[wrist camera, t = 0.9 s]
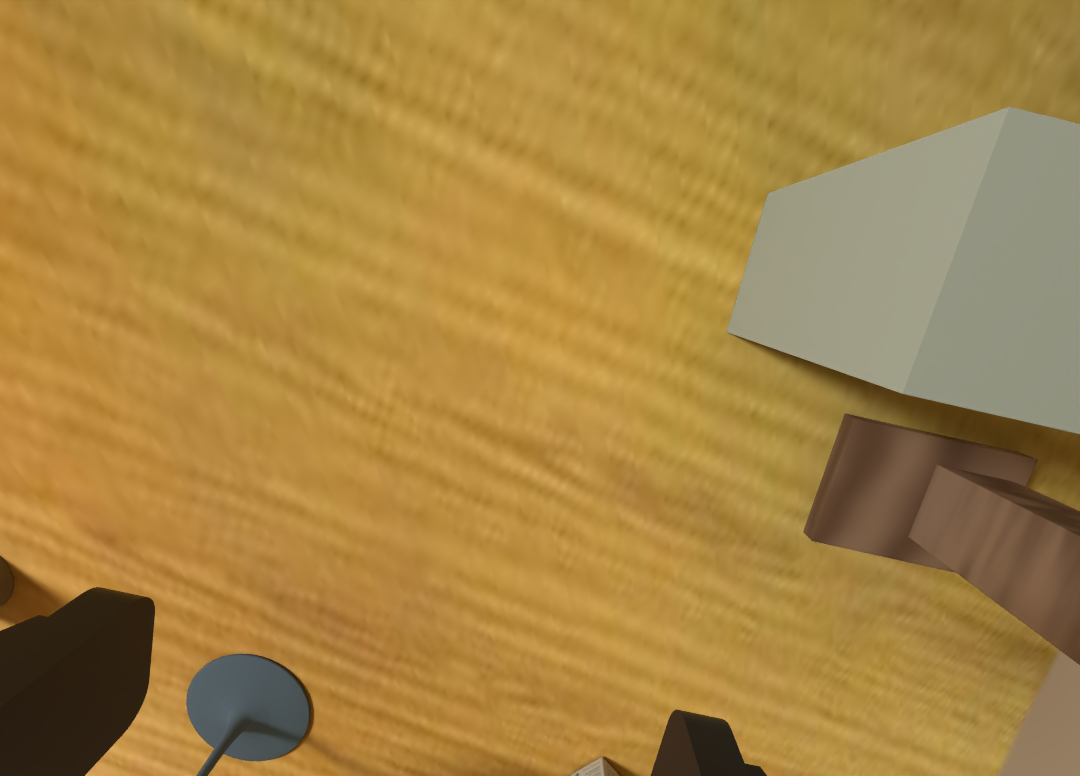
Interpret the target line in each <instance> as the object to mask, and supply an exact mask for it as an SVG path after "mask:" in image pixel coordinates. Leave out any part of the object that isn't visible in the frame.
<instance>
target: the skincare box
mask: <svg viewBox="0 0 1080 776" xmlns="http://www.w3.org/2000/svg"><path fill="white" fill-rule="evenodd" d="M570 776H620V775H619V774H618V773H617V772H616V771H615V770H614V769H613V768H612V767H611V766H610V765H609V763H608V762H607V761H606V760H605V759H604V758H603V757H601V758H599V759H598V760H596V761H594V762H592V763H590V764H589V765H587V766H585V767H583V768H582V769H580V770H578V771H577V772H575V773H574V774H572V775H570Z"/></svg>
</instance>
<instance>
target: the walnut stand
mask: <svg viewBox="0 0 1080 776" xmlns="http://www.w3.org/2000/svg"><path fill="white" fill-rule="evenodd" d="M1036 462H1037V459H1034V458H1032V457H1029V456H1027V455H1024V454H1021V453H1017V452H1013V451H1009V450H1004V449H1000V448H995V447H991V446H986V445H982V444H978V443H973V442H969V441H964V440H960V439H956V438H951V437H947V436H942V435H938V434H933V433H929V432H925V431H920V430H916V429H911V428H907V427H902V426H898V425H894V424H889V423H885V422H880V421H876V420H871V419H867V418H863V417H858V416H854V415H849V414H845V415H844V418H843V421H842V424H841V427H840V429H839V432H838V435H837V438H836V441H835V444H834V446H833V449H832V452H831V455H830V458H829V461H828V463H827V466H826V469H825V472H824V475H823V478H822V481H821V483H820V486H819V489H818V492H817V495H816V498H815V500H814V503H813V506H812V509H811V512H810V515H809V517H808V520H807V523H806V526H805V529H804V533H805V534H806V535H807V536H808V537H809V538H810V539H811V540H812V541H815V542H819V543H824V544H828V545H833V546H838V547H842V548H847V549H851V550H856V551H860V552H865V553H869V554H874V555H878V556H883V557H888V558H892V559H897V560H901V561H906V562H910V563H915V564H919V565H924V566H929V567H933V568H938V569H942V570H947V571H951V572H956V573H957V574H959V575H960V576H961V577H963V578H964V579H965V580H967V581H968V582H969V583H971V584H972V585H973V586H975V587H976V588H977V589H979V590H980V591H981V592H983V593H984V594H986V595H987V596H988V597H990V598H991V599H992V600H994V601H995V602H996V603H998V604H999V605H1000V606H1002V607H1003V608H1004V609H1006V610H1007V611H1008V612H1010V613H1011V614H1012V615H1014V616H1015V617H1016V618H1018V619H1019V620H1020V621H1022V622H1023V623H1024V624H1026V625H1027V626H1028V627H1030V628H1031V629H1032V630H1034V631H1035V632H1036V633H1038V634H1039V635H1040V636H1042V637H1043V638H1044V639H1046V640H1047V641H1048V642H1050V643H1051V644H1052V645H1054V646H1055V647H1056V648H1058V649H1059V650H1060V651H1062V652H1063V653H1065V654H1066V655H1067V656H1069V657H1070V658H1071V659H1073V660H1074V661H1075V662H1077V663H1078V664H1079V665H1080V512H1079V511H1077V510H1075V509H1073V508H1070V507H1068V506H1066V505H1064V504H1062V503H1059V502H1057V501H1055V500H1053V499H1051V498H1049V497H1046V496H1044V495H1042V494H1040V493H1038V492H1035V491H1033V490H1031V489H1029V488H1027V487H1026V485H1027V483H1028V481H1029V478H1030V476H1031V474H1032V472H1033V469H1034V467H1035V465H1036Z"/></svg>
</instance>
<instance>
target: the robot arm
mask: <svg viewBox="0 0 1080 776" xmlns="http://www.w3.org/2000/svg"><path fill="white" fill-rule="evenodd" d="M154 617H155V606H154V602H153V601H152V599H150V598H148V597H144V596H139V595H134V594H129V593H125V592H120V591H115V590H110V589H105V588H100V587H96V588H92V589H90V590H87V591H86V592H84V593H82V594H81V595H79V596H78V597H77V598H75V599H74V600H72V601H71V602H69V603H68V604H66V605H65V606H63V607H62V608H61V609H59V610H58V611H56V612H55V613H53V614H52V615H50V616H49V617H44V616H40V615H39V616H36V617H34V618H31V619H29V620H26V621H24V622H21V623H19V624H16V625H14V626H11V627H9V628H6V629H4V630H1V631H0V776H85V775H86V774H87V773H88V771H89V770H90V769H91V768H92V767H93V766H94V765H95V764H96V763H97V762H98V761H99V760H100V759H101V757H102V756H103V755H104V754H105V753H106V752H107V751H108V750H109V749H110V748H111V747H112V746H113V744H114V743H115V742H116V741H117V740H118V739H119V738H120V737H121V736H122V735H123V734H124V732H125V731H126V730H127V729H128V727H129V726H130V725H131V723H132V722H133V720H134V719H135V717H136V715H137V714H138V712H139V710H140V708H141V706H142V704H143V701H144V699H145V696H146V693H147V689H148V685H149V676H150V664H151V652H152V640H153V629H154ZM651 776H767V775H766V774H765V773H764V771H763V770H762V769H761V767H759V766H754V765H750V764H745V763H744V761H743V758H742V756H741V753H740V751H739V748H738V746H737V743H736V740H735V738H734V735H733V733H732V730H731V728H730V726H729V724H728V723H727V722H726V721H725V720H723V719H719V718H715V717H710V716H705V715H700V714H695V713H691V712H686V711H681V710H675V711H673V713H672V714H671V716H670V718H669V720H668V723H667V726H666V730H665V733H664V736H663V739H662V742H661V745H660V748H659V752H658V755H657V758H656V761H655V764H654V767H653V770H652V773H651Z"/></svg>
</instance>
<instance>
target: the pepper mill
mask: <svg viewBox="0 0 1080 776" xmlns="http://www.w3.org/2000/svg"><path fill="white" fill-rule="evenodd" d="M13 588H14V581H13V575H12V573H11V570H10V568H9V566H8V565H7V564H6V562H5V561H4V560H3V559H2V557H0V606H1V605H2V604H4V603H6V602H7V600H8V599H9V598H10V597H11V595H12V591H13Z"/></svg>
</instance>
